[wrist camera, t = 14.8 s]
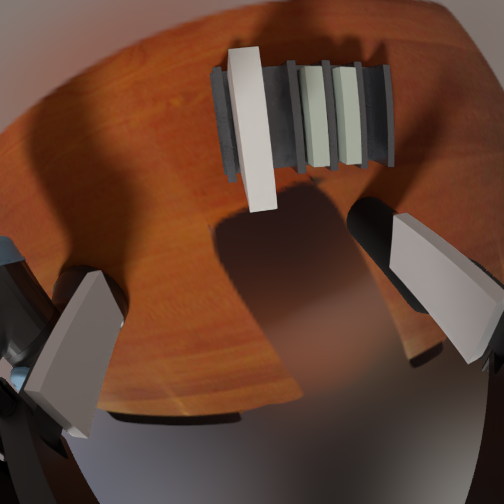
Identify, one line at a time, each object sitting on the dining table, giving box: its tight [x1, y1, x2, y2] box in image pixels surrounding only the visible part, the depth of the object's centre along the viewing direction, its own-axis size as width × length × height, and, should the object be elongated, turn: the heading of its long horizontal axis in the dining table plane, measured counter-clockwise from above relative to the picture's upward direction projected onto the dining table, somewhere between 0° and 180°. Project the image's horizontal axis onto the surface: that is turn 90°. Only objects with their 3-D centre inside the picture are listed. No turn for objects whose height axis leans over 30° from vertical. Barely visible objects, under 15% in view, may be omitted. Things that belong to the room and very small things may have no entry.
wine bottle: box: [347, 197, 492, 361], centre depth 31 cm, size 8×8×30 cm
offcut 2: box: [331, 67, 362, 165], centre depth 32 cm, size 2×12×6 cm, turn 7°
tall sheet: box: [227, 47, 277, 212], centre depth 26 cm, size 2×12×18 cm, turn 7°
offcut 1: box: [296, 66, 330, 167], centre depth 32 cm, size 2×12×6 cm, turn 7°
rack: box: [210, 60, 394, 183], centre depth 33 cm, size 23×14×6 cm, turn 97°
